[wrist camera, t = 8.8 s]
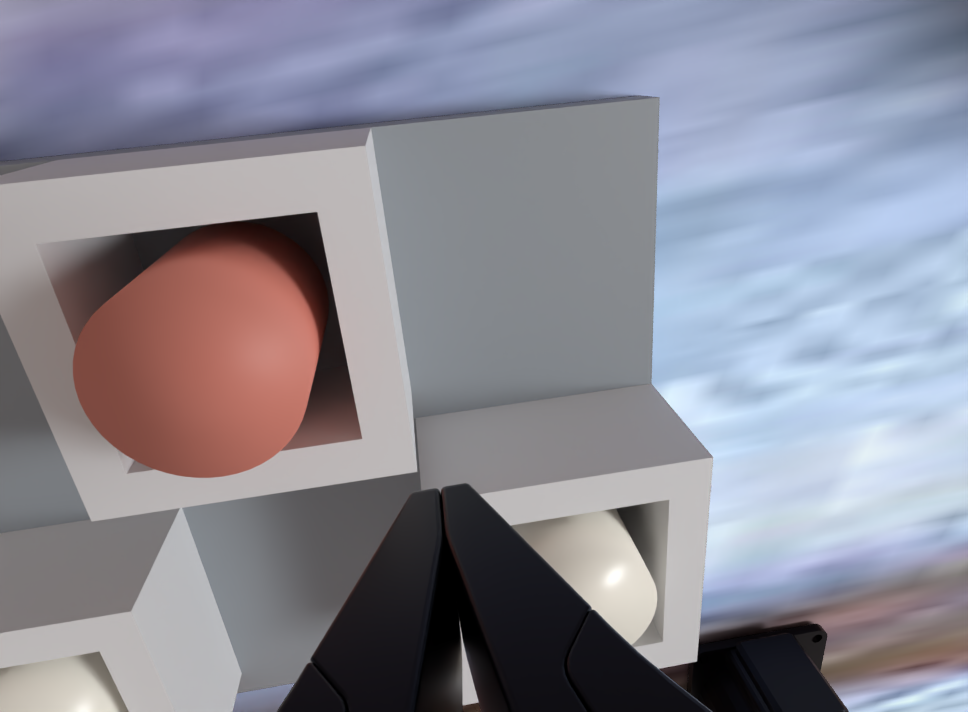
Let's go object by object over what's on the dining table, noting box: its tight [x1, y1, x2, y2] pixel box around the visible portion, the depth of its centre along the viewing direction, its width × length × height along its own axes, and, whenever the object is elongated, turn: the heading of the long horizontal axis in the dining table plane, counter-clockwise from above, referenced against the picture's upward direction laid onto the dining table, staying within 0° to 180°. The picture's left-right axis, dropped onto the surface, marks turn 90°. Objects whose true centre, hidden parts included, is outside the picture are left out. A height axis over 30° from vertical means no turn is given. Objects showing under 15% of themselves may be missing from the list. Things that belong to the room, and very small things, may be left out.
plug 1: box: [0, 652, 129, 712], centre depth 20 cm, size 4×4×5 cm
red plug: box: [73, 221, 329, 478], centre depth 15 cm, size 4×4×5 cm
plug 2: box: [511, 508, 657, 645], centre depth 20 cm, size 4×4×5 cm
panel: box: [0, 96, 713, 712], centre depth 19 cm, size 20×24×6 cm
